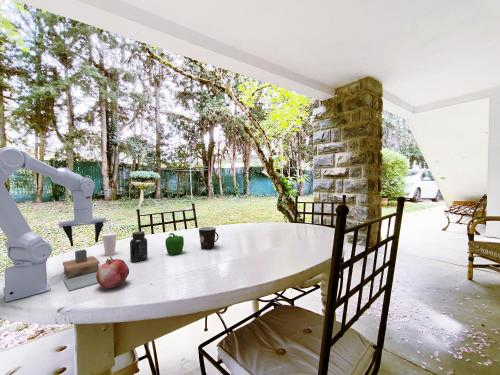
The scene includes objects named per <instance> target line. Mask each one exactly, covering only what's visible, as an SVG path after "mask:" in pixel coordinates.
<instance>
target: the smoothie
mask: <svg viewBox="0 0 500 375" xmlns="http://www.w3.org/2000/svg"><path fill="white" fill-rule="evenodd" d="M117 236H118V233H117V232H112V225H111V224H109V232H107V233H103V234H101V238H102V243H103V250H104V256H106V257H108V256H109V257H110V256H111V257H112V256H114V255H115V252H116V247H117V246H116V244H117Z"/></svg>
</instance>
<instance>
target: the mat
mask: <svg viewBox="0 0 500 375" xmlns="http://www.w3.org/2000/svg"><path fill="white" fill-rule="evenodd" d="M96 274H97V272H95V273H91V274H87V275H83V276H79V277H75V278H70V279H68V278H67V279H64V280H63V284H64V285H65V287H66V288H67V290H68V291H69V292H72V291H76V290H79V289H83V288H87V287H91V286H94V285H97V284H98V285H99V283H98V281H97V279H96Z"/></svg>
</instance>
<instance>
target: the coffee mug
mask: <svg viewBox="0 0 500 375" xmlns="http://www.w3.org/2000/svg"><path fill="white" fill-rule="evenodd" d="M216 230H217V227H215V226H203V227H199V228H198V234H199V241H200V249H201V250H204V251H208V250H209V251H210V250H213V249H214V248H215V243H216V242H217V241H218V239H219V237H220V236H219V233H218V232H216ZM216 236H217V237H216Z"/></svg>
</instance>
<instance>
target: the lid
mask: <svg viewBox="0 0 500 375" xmlns="http://www.w3.org/2000/svg"><path fill="white" fill-rule="evenodd" d="M87 254H88V253H87V249H79V250H75V251H74V259H72V260H66V261H62V266H63V268H64V267H65V269H66V270H67V271H70V270H75V269H79V268H83V267H88V266H92V265H96V264H98V265H100V260H98V258H96V257H95V256H94V255H91V256H87Z"/></svg>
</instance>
